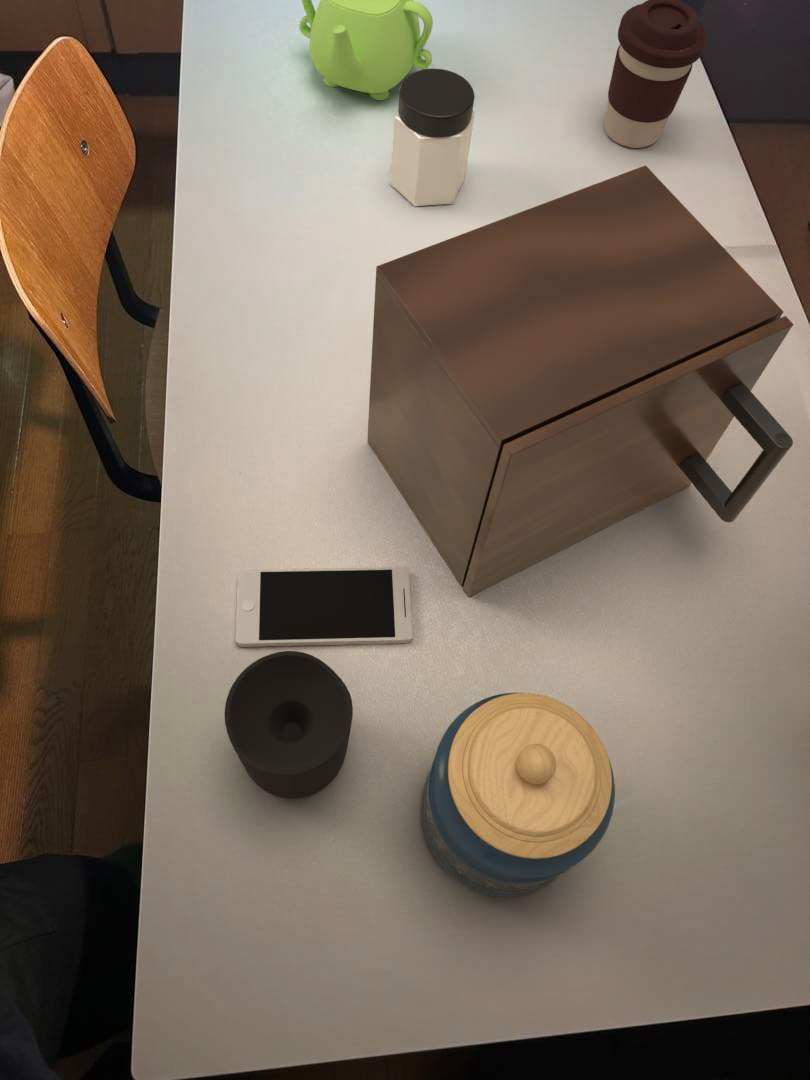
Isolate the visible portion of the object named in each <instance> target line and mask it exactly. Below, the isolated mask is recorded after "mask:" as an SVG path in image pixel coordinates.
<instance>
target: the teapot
mask: <svg viewBox="0 0 810 1080" xmlns="http://www.w3.org/2000/svg"><path fill="white" fill-rule="evenodd" d="M301 3H302V6H303V9H304V13H305V15H304V16H302V17H301V19H300V20H299V25H298V28H299V31H300V33H301V34H302V36H304V37H306V38H307V39H309V54H310V55H309V56H310V59H311V63H312V65H313V66H314V68H315V69H316V70H317V72H318V73H319V75H321V76H322V77H323V79H322V80H323V83H324V85H326V86H328V87H331V88H337V87H342V88H345V89H348V90H353V91H356V92H361V93H368V94H369V96H370V98H372V99H373V100H376V101H383V100H386V99H388V98H389V96H390V90H392V89H393V88H395V87H396V86H397V85H398V84H399V83H400V82H402V81H403V80H404V79H405V78H406V77H407V76H408V74H410V72H411V71H412V70H413V68H414V67H415V68H416V69H419V70H423V69H429V67H430V66H431V65H432V62H433V54H432V53H431V51H430V50H428V49H426V48H425V46H426V44H427V43H428V40H429V38H430V35H431V33H432V30H433V23H434V21H433V20H434V19H433V15H432V13H431V11H430V10H429V9H428V7H426V6H425V5H424V4H423V3H421V2H419V1H416V0H320V1H319V3H318V6H317V8H316V9H315V6H314V4H313V1H312V0H301ZM419 18H420V19H421V20H422V23H423V30H422V33H421V26H420V19H419ZM308 24H309V25H308Z"/></svg>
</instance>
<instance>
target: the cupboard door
mask: <svg viewBox="0 0 810 1080" xmlns="http://www.w3.org/2000/svg"><path fill="white" fill-rule="evenodd" d="M793 326H794V323H793V322H792V321H791V320H790V319H789V317H787V316H786V315H784V316H781V317H780V318H779V319H777V320H775V321H773V322H771V323H768V324H766V325H764V326H762V327H760V328H758V329H755V330H753V331H751V332H749V333H747V334H744V335H742V336H740V337H738V338H736V339H734V340H731V341H729V342H727V343H725V344H723V345H720V346H718V347H716V348H714V349H712V350H709V351H707V352H705V353H703V354H701V355H699V356H696V357H694V358H692V359H690V360H688V361H685V362H683V363H681V364H679V365H677V366H675V367H672V368H670V369H668V370H666V371H664V372H661V373H659V374H657V375H655V376H653V377H651V378H648V379H646V380H644V381H642V382H640V383H637V384H635V385H633V386H631V387H629V388H626V389H624V390H622V391H620V392H618V393H616V394H613V395H611V396H609V397H607V398H605V399H602V400H600V401H598V402H596V403H594V404H592V405H589V406H587V407H585V408H583V409H581V410H578V411H576V412H574V413H572V414H570V415H567V416H565V417H563V418H561V419H559V420H557V421H554V422H552V423H550V424H548V425H546V426H543V427H541V428H539V429H537V430H535V431H533V432H530V433H528V434H526V435H524V436H522V437H519V438H517V439H515V440H513V441H511V442H508V443H506V444H504V446H503V449H502V453H501V456H500V460H499V463H498V467H497V470H496V474H495V478H494V481H493V485H492V488H491V492H490V495H489V499H488V502H487V506H486V509H485V513H484V516H483V520H482V523H481V527H480V531H479V534H478V538H477V541H476V545H475V548H474V552H473V555H472V559H471V562H470V566H469V569H468V573H467V576H466V580H465V583H464V586H462V590H463V592H464V593H465V594H466V596H467V598H470V597H472V596H474V595H476V594H478V593H480V592H482V591H484V590H486V589H488V588H490V587H492V586H494V585H496V584H498V583H500V582H501V581H504V580H506V579H509V577H511V576H513V575H516V574H518V573H520V572H522V571H523V570H525V569H528V568H529V567H531V566H533V565H535V564H538V563H539V562H541V561H544V560H545V559H548V558H549V557H551V556H553V555H555V554H557V553H559V552H561V551H564V550H565V549H567V548H569V547H570V546H573V545H575V544H577V543H579V542H580V541H583V540H585V539H587V538H588V537H591V536H593V535H594V534H596V533H598V532H600V531H602V530H605V529H606V528H608V527H610V526H613V525H614V524H616V523H618V522H621V521H622V520H624V519H626V518H628V517H630V516H632V515H634V514H636V513H638V512H640V511H642V510H644V509H646V508H648V507H649V506H651V505H654V504H655V503H658V502H659V501H662V500H663V499H666V498H668V497H670V496H672V495H673V494H675V493H678V492H679V491H682V490H683V489H686V488H687V487H689V486H691V485H693V487H694V488H695V490H696V491H698V492H699V494H700V495H701V496H702V498H703V499H704V500H705V501H706V502H707V504H708V505H709V506H710V507H711V509H712V511H714V513H715V514H716V515H717V516H718V517H719V518H720V520H721V521H723V522H725V523H732V522H734V521H735V520H736V519H737V518H738V517H739V515H740V514H741V512H742V511H743V510H744V509H745V508H746V506H747V505H748V504H749V502H750V501H751V500H752V498H753V497H754V496H755V495H756V493H757V492H758V491H759V489H760V488H761V487H762V485H763V484H764V483H765V481H766V480H767V479H768V478H769V477H770V475H771V474H772V472H773V471H774V470H775V469H776V468H777V466H778V465H779V464H780V462H781V461H782V459H783V458H784V457H785V456H786V455H787V453H788V452H789V450H791V448H792V447H793V444H794V441H793V438H792V436H791V435H790V434H789V432H787V431H786V430H785V429H784V427H783V426H782V425H781V424H780V423H779V422H778V421H777V419H776V418H775V417H774V416H773V415H772V414H771V413H770V411H769V410H768V409H767V408H766V407H765V406H764V404H763V403H761V401H760V400H759V398H757V397H756V396H755V394H754V393H753V392H752V390H753V388H754V386H755V385H756V384H757V382H758V380H759V379H760V377H761V376H762V374H763V372H764V371H765V369H766V368H767V367H768V365H769V364H770V362H771V360H772V359H773V357H774V355H775V354H776V353H777V352H778V349H779V348H780V346H781V345H782V343H783V342H784V340H785V339H786V337H787V336H788V334H789V332H790V330H792V327H793ZM734 418H735V419H736V420H737V421H738V423H739V424H740V425H741V426H742V427H743V428H744V429H745V431H746V432H747V433H748V434H749V435H750V436H751V437H752V439H753V440H754V441H755V442H756V443H757V444H758V446H759V447H760V448H761V449H762V450H761V452H760V453H759V455H758V456H757V457H756V459H755V460H754V462H753V463H752V465H751V466H750V467H749V469H748V470H747V471H746V473H745V474H744V476H742V478H741V480H740V481H739V482H738V483H737V485H736V486H735V488H734V489H733V490H732V491H731V490H730V489H729V487H728V486H727V485H726V483H725V482H724V481H723V480H722V478H721V477H720V476H719V475H718V474H717V473H716V471H715V470H714V469H713V468H712V467H711V465H710V464H709V463H708V462H707V460H708V458H709V457H710V455H711V454H712V452H713V451H714V449H715V447H716V446H717V444H718V443H719V441H720V440H721V438H722V436H723V435H724V433H725V431H726V430H727V429H728V428H729V426H730V424H731V423H732V421H733V420H734Z"/></svg>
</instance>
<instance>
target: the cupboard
mask: <svg viewBox="0 0 810 1080" xmlns="http://www.w3.org/2000/svg"><path fill="white" fill-rule="evenodd" d="M374 283H375V284H374V303H373V304H374V305H373V324H372V340H371V341H372V346H371V363H370V378H369V379H370V381H369V401H368V417H367V419H368V422H367V444H368V445H369V447H370V449H371V450H372V451H373V453H374V455H375V456H376V458H377V460H378V461H379V462H380V464H381V466H382V467H383V469H384V470H385V472H386V474H387V475H388V476H389V478H390V479H391V481H392V482H393V484H394V485H395V487H396V489H397V490H398V492H399V494H400V495H401V497H402V498H403V499H404V502H406V504H407V506H408V507H409V509H410V511H411V512H412V513H413V515H414V517H415V518H416V520H417V521H418V523H419V524H420V526H421V527H422V529H423V530H424V532H425V534H426V535H427V537H428V538H429V539H430V542H431V543H432V544H433V546H434V547H435V549H436V550H437V552H438V554H439V555H440V557H441V558H442V560H443V561H444V563H445V565H446V566H447V568H448V569H449V570H450V572H451V574H452V575H453V577H454V579H455V580H456V582H457V583H458V585H459V586H460V587H461V588H463V587H464V583H465V580H466V576H467V573H468V569H469V566H470V562H471V559H472V555H473V552H474V548H475V545H476V541H477V538H478V534H479V531H480V527H481V523H482V520H483V516H484V513H485V509H486V506H487V502H488V499H489V495H490V492H491V488H492V485H493V481H494V478H495V474H496V470H497V467H498V463H499V460H500V456H501V453H502V449H503V446H504V444H506V443H508V442H511V441H513V440H515V439H517V438H519V437H522V436H524V435H526V434H528V433H530V432H533V431H535V430H537V429H539V428H541V427H543V426H546V425H548V424H550V423H552V422H554V421H557V420H559V419H561V418H563V417H565V416H567V415H570V414H572V413H574V412H576V411H578V410H581V409H583V408H585V407H587V406H589V405H592V404H594V403H596V402H598V401H600V400H602V399H605V398H607V397H609V396H611V395H613V394H616V393H618V392H620V391H622V390H624V389H626V388H629V387H631V386H633V385H635V384H637V383H640V382H642V381H644V380H646V379H648V378H651V377H653V376H655V375H657V374H659V373H661V372H664V371H666V370H668V369H670V368H672V367H675V366H677V365H679V364H681V363H683V362H685V361H688V360H690V359H692V358H694V357H696V356H699V355H701V354H703V353H705V352H707V351H709V350H712V349H714V348H716V347H718V346H720V345H723V344H725V343H727V342H729V341H731V340H734V339H736V338H738V337H740V336H742V335H744V334H747V333H749V332H751V331H753V330H755V329H758V328H760V327H762V326H764V325H766V324H768V323H771V322H773V321H775V320H777V319H779V318H782V316H783V314H784V310H783V309H782V308H781V307H780V306H779V305H778V304H777V303H776V302H775V301H774V300H773V298H771V297H770V295H768V293H767V292H766V291H765V290H764V289H763V288H762V287H761V285H759V283H757V282H756V280H754V279H753V278H752V276H751V275H750V274H749V273H748V272H747V271H746V270H745V269H744V268H743V267H742V266H741V264H739V262H737V260H736V259H735V258H734V257H733V256H732V255H731V254H730V253H729V252H728V251H727V250H726V249H725V248H724V247H723V245H721V243H720V242H719V241H718V240H717V239H716V238H715V237H714V236H713V235H712V234H711V233H710V232H709V231H708V230H707V228H705V226H704V225H702V223H701V222H700V221H699V220H698V219H697V217H695V216H694V215H693V213H691V212H690V210H689V209H688V208H686V206H685V205H684V204H683V203H682V202H681V201H680V200H679V199H678V198H677V197H676V196H675V195H674V194H673V193H672V192H671V190H670V189H669V188H668V187H667V186H666V185H665V184H664V183H663V182H662V181H661V180H660V179H659V178H658V177H657V175H656V174H655V173H654V172H653V171H652V170H651V169H650V168H649V167H648V166H647V165H645V164H644V165H642V166H640V167H636V168H634V169H631V170H629V171H625V172H624V173H621V174H618V175H616V176H612V177H611V178H608V179H606V180H603V181H600V182H597V183H594V184H592V185H589V186H587V187H584V188H582V189H579V190H576V191H573V192H571V193H568V194H566V195H563V196H560V197H558V198H554V199H552V200H549V201H546V202H544V203H541V204H539V205H536V206H533V207H531V208H527V209H526V210H522V211H520V212H517V213H514V214H512V215H509V216H507V217H504V218H501V219H499V220H496V221H493V222H491V223H488V224H485V225H482V226H480V227H478V228H475V229H472V230H470V231H466V232H464V233H461V234H459V235H456V236H453V237H450V238H448V239H445V240H443V241H440V242H438V243H435V244H432V245H430V246H427V247H424V248H422V249H419V250H416V251H414V252H411V253H408V254H405V255H403V256H401V257H398V258H395V259H392V260H390V261H387V262H384V263H381V264H378V265H376V269H375V282H374Z"/></svg>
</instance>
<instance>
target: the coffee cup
mask: <svg viewBox="0 0 810 1080" xmlns="http://www.w3.org/2000/svg"><path fill="white" fill-rule="evenodd" d="M617 39H618V42H619V45H618V47H617V50H616V53H615V59H614V63H613V68H612V72H611V78H610V80H609V81H610V82H609V86H608V91H607V99H608V100H607V105H606V109H605V113H604V119H603V128H604V132H605V134H606V135H607V136H608V137H609V138H610V139H611V140H612V141H613V142H615V143H616V144H618V145H621V146H623V147H627V148H632V149H640V148H641V149H642V148H646V147H649V146H652V145H653V144H655V143H656V142H657V141H658V140H659V138H660V137H661V135H662V132H663V130H664V129H665V126H666V124H667V121H668V119H669V118H670V116H671V114H672V113H673V112H674V110H675V108H676V106H677V103H678V102H679V99H680V97H681V95H682V93H683V90H684V88H685V86H686V83H687V81H688V79H689V76H690V75H691V72H692V69H693V64H695V63H696V62H697V61H698V60H699V59H701V56H702V55H703V53H704V50H705V47H706V44H707V42H708V32H707V29H706V26H705V25H704V23H703V22H702V21H701V19H700V18H699V16H698V14H697V12H696V11H695V10H694V9H693V7H691V6H690V5H688V4H687V3H685V2H683V1H681V0H646V1H644V2H643V3H640V4H636V5H634V6H632V7H630V8H629V9H627V11H625V12H624V14H622V16H621V19H620V22H619V26H618V29H617Z"/></svg>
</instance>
